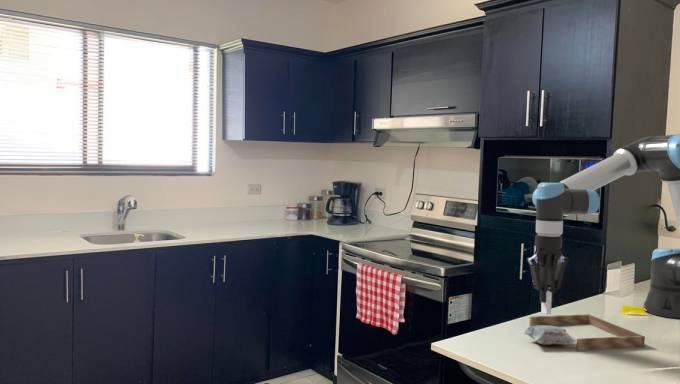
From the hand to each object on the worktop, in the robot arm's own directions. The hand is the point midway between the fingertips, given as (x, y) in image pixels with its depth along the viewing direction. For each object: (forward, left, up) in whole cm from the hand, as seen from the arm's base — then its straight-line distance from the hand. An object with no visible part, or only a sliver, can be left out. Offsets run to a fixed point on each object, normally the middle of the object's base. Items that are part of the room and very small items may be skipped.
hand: (546, 312), depth 165 cm
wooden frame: (-14, 0, -8) cm, 15 cm away
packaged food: (+7, +7, -9) cm, 13 cm away
